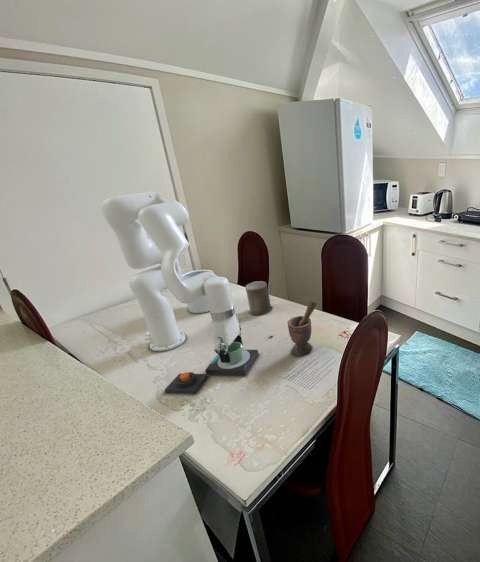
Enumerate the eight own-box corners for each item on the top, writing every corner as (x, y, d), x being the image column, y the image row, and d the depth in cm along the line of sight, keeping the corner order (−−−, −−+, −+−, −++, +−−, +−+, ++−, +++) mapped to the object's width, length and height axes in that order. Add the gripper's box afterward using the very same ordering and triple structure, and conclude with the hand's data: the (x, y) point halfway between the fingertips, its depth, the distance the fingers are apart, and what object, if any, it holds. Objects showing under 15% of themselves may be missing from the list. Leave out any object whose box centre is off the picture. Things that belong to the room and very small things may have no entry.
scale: (206, 375, 110) (205, 368, 109) (223, 354, 121) (222, 348, 120) (245, 376, 109) (244, 369, 108) (259, 355, 120) (257, 349, 119)
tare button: (178, 381, 103) (177, 377, 103) (184, 375, 106) (182, 372, 105) (187, 381, 103) (185, 378, 102) (192, 376, 106) (190, 372, 105)
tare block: (165, 393, 102) (162, 386, 101) (180, 376, 109) (178, 369, 108) (194, 393, 101) (192, 386, 100) (208, 377, 109) (206, 370, 108)
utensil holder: (211, 297, 166) (203, 267, 159) (226, 304, 158) (219, 273, 151) (182, 308, 156) (173, 276, 149) (197, 317, 147) (188, 283, 140)
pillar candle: (274, 310, 152) (269, 282, 146) (254, 317, 146) (249, 288, 140) (266, 303, 159) (261, 276, 153) (247, 310, 153) (241, 282, 147)
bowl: (220, 364, 111) (217, 352, 109) (229, 352, 117) (226, 341, 115) (239, 364, 110) (236, 353, 108) (247, 353, 117) (244, 341, 115)
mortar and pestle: (307, 337, 130) (302, 295, 122) (323, 344, 126) (319, 300, 118) (287, 352, 121) (280, 307, 113) (303, 359, 117) (297, 313, 109)
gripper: (224, 300, 114) (233, 339, 121) (197, 325, 98) (209, 369, 105) (244, 301, 114) (252, 340, 121) (220, 326, 98) (231, 369, 105)
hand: (232, 353), depth 113 cm, fingers open, 9 cm apart
